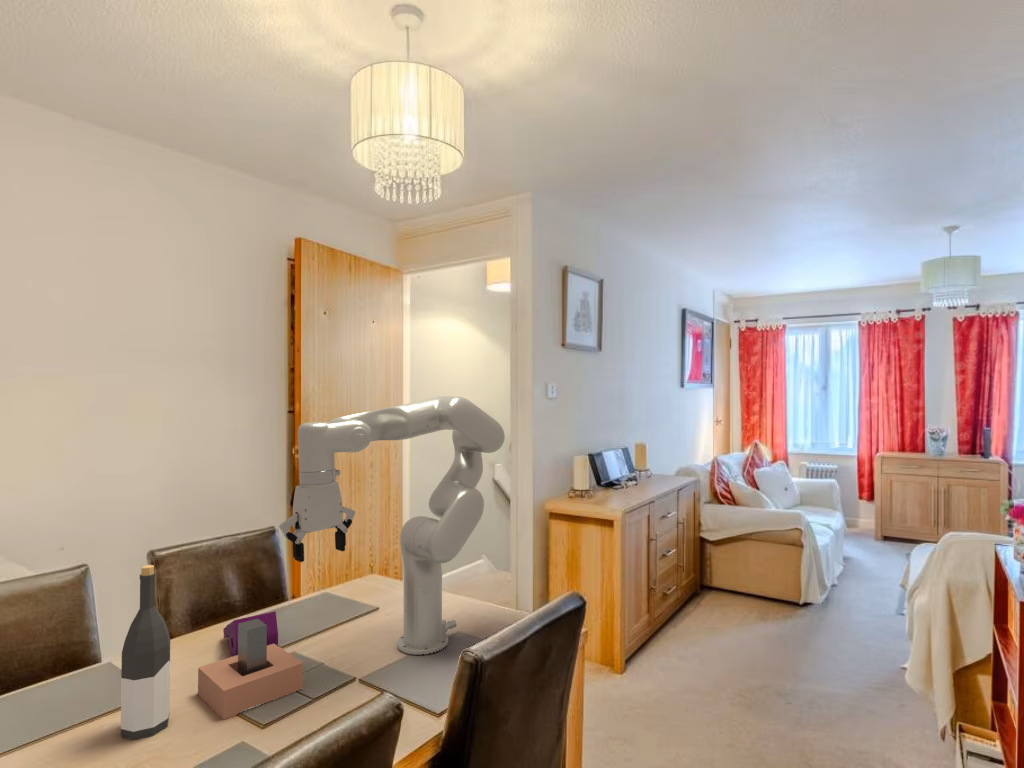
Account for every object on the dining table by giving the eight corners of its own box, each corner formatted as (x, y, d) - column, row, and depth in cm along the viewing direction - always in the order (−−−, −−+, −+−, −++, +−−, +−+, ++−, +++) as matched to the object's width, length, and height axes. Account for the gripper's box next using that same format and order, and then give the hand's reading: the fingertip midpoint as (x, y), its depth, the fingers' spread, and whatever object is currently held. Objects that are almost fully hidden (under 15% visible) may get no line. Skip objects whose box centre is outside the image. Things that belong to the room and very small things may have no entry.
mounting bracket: (222, 666, 145) (236, 658, 132) (220, 631, 148) (233, 620, 135) (262, 656, 151) (279, 647, 138) (259, 622, 154) (275, 611, 141)
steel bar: (256, 683, 124) (257, 618, 124) (266, 692, 121) (266, 624, 121) (237, 690, 121) (238, 623, 122) (246, 699, 118) (247, 630, 118)
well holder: (273, 667, 131) (273, 643, 132) (303, 689, 122) (303, 662, 122) (198, 694, 120) (198, 667, 120) (223, 719, 110) (223, 690, 110)
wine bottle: (135, 716, 111) (137, 560, 112) (178, 714, 112) (180, 559, 113) (109, 741, 103) (112, 573, 104) (156, 739, 104) (158, 572, 105)
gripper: (344, 471, 136) (346, 543, 136) (271, 482, 123) (274, 561, 124) (361, 474, 131) (363, 549, 131) (287, 485, 118) (290, 568, 118)
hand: (320, 555), depth 127 cm, fingers open, 9 cm apart
